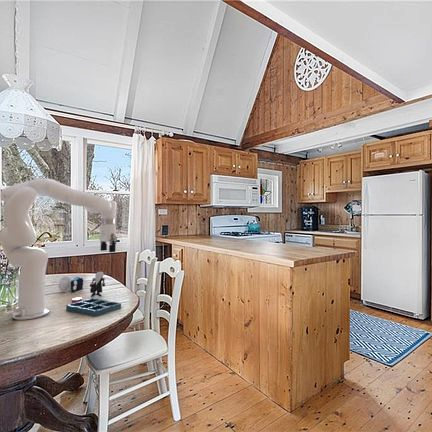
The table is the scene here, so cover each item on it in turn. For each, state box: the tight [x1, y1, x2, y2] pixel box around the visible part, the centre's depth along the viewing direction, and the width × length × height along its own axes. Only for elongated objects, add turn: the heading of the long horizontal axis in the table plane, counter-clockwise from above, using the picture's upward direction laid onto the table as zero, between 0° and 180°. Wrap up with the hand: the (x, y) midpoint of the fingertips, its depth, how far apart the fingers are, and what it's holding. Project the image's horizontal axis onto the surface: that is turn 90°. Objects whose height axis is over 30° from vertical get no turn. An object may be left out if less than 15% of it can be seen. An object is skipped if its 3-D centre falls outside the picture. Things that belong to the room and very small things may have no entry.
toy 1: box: [57, 276, 84, 294], centre depth 185 cm, size 9×11×15 cm
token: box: [71, 297, 83, 304], centre depth 159 cm, size 5×5×3 cm
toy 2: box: [89, 271, 107, 298], centre depth 181 cm, size 8×20×15 cm
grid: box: [65, 297, 122, 318], centre depth 152 cm, size 14×20×3 cm
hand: (107, 251), depth 176 cm, fingers open, 9 cm apart
